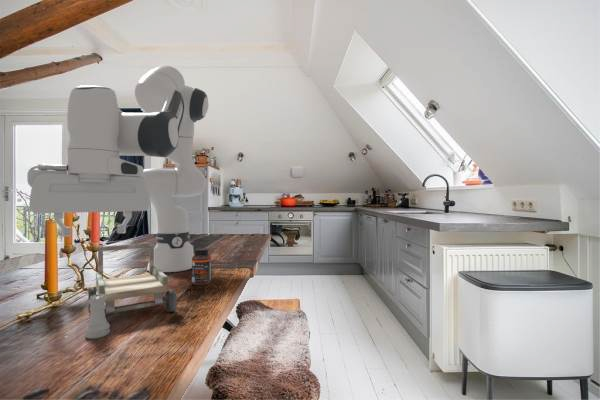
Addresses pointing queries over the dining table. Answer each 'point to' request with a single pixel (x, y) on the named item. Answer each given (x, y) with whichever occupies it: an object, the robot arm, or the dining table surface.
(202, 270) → the supplement bottle
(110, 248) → the miniature garden bench
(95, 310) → the rook chess piece
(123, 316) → the dining table surface
